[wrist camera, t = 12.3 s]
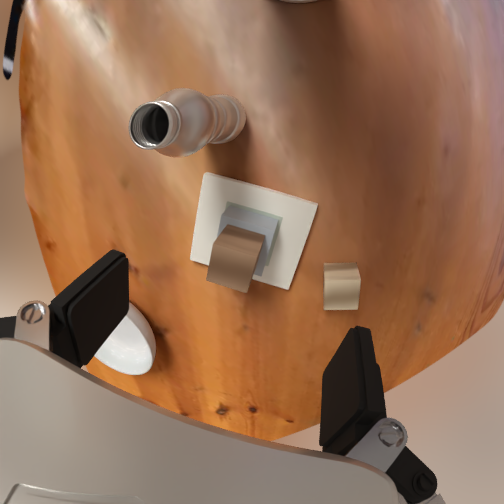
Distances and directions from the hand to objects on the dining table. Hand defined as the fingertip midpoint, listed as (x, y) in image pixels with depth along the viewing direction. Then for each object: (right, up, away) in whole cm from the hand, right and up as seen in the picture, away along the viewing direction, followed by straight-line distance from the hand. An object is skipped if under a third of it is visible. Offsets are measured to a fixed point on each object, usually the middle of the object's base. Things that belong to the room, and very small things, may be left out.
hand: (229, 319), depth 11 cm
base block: (0, +5, +30) cm, 31 cm away
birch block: (+14, -1, +32) cm, 35 cm away
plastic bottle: (-3, +20, +25) cm, 32 cm away
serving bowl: (-27, -12, +46) cm, 55 cm away
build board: (+1, +6, +32) cm, 32 cm away
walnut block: (0, +3, +27) cm, 27 cm away
